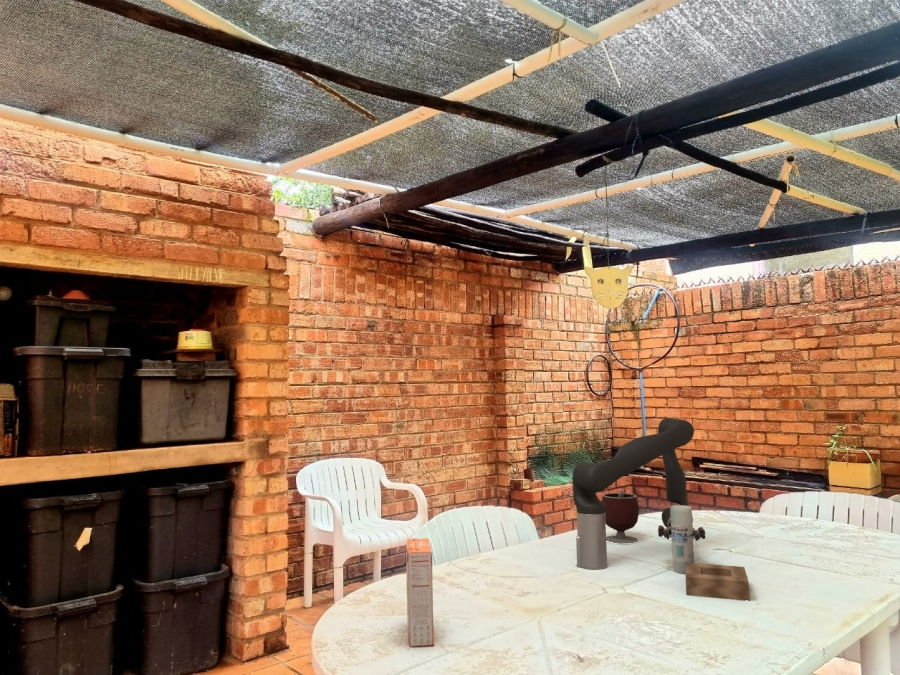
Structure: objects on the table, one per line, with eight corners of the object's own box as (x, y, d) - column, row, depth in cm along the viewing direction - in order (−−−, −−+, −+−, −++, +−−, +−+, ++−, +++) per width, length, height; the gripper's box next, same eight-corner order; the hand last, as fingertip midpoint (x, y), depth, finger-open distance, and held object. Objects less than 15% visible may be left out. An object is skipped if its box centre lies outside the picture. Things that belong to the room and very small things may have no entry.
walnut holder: (686, 595, 177) (685, 576, 178) (686, 579, 192) (686, 562, 193) (749, 600, 172) (748, 581, 172) (745, 584, 187) (744, 566, 187)
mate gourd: (600, 536, 253) (599, 485, 255) (637, 537, 251) (635, 485, 253) (604, 545, 238) (602, 490, 240) (643, 546, 236) (641, 491, 238)
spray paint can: (669, 572, 201) (666, 507, 203) (678, 567, 206) (675, 504, 208) (689, 575, 196) (686, 509, 198) (698, 571, 201) (695, 506, 203)
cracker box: (406, 625, 156) (405, 538, 158) (430, 624, 157) (430, 537, 159) (407, 648, 142) (406, 551, 144) (434, 646, 143) (433, 550, 145)
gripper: (657, 514, 219) (658, 523, 203) (701, 516, 214) (706, 525, 199) (657, 537, 218) (659, 547, 202) (702, 539, 214) (707, 550, 198)
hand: (682, 536), depth 201 cm, fingers open, 8 cm apart
